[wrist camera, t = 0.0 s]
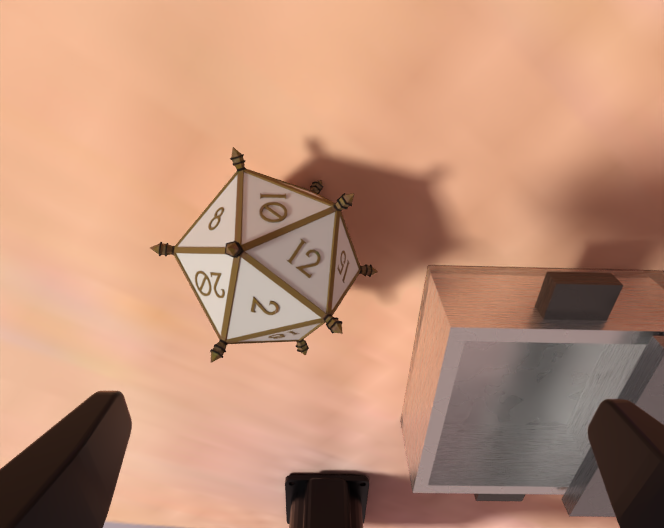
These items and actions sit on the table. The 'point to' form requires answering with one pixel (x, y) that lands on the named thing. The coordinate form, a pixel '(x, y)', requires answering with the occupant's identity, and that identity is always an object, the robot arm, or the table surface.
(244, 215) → the game die
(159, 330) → the table surface
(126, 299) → the table surface
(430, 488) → the grey rectangular box
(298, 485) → the robot arm
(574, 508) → the lid
